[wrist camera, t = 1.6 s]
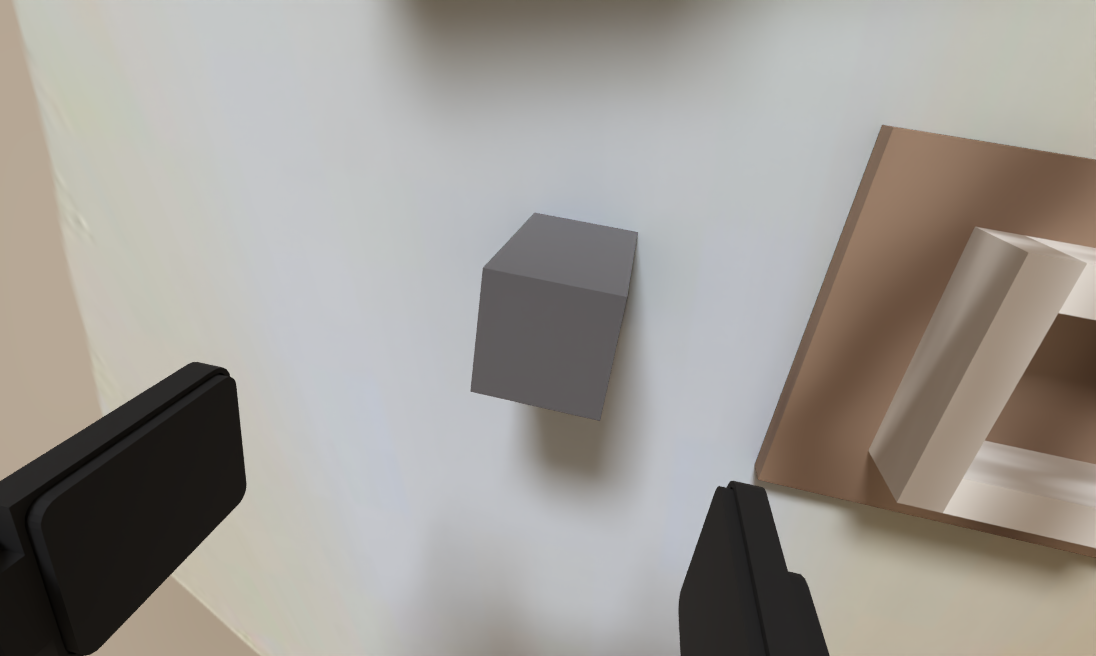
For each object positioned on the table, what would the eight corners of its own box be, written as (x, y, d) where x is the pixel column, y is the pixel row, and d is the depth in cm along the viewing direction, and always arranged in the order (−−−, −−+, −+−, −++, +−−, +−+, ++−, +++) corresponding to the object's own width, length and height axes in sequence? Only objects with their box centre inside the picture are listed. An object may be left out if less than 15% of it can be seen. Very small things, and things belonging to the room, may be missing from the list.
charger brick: (637, 232, 21) (627, 297, 15) (617, 327, 23) (599, 420, 17) (534, 212, 22) (482, 267, 16) (521, 307, 24) (470, 391, 17)
